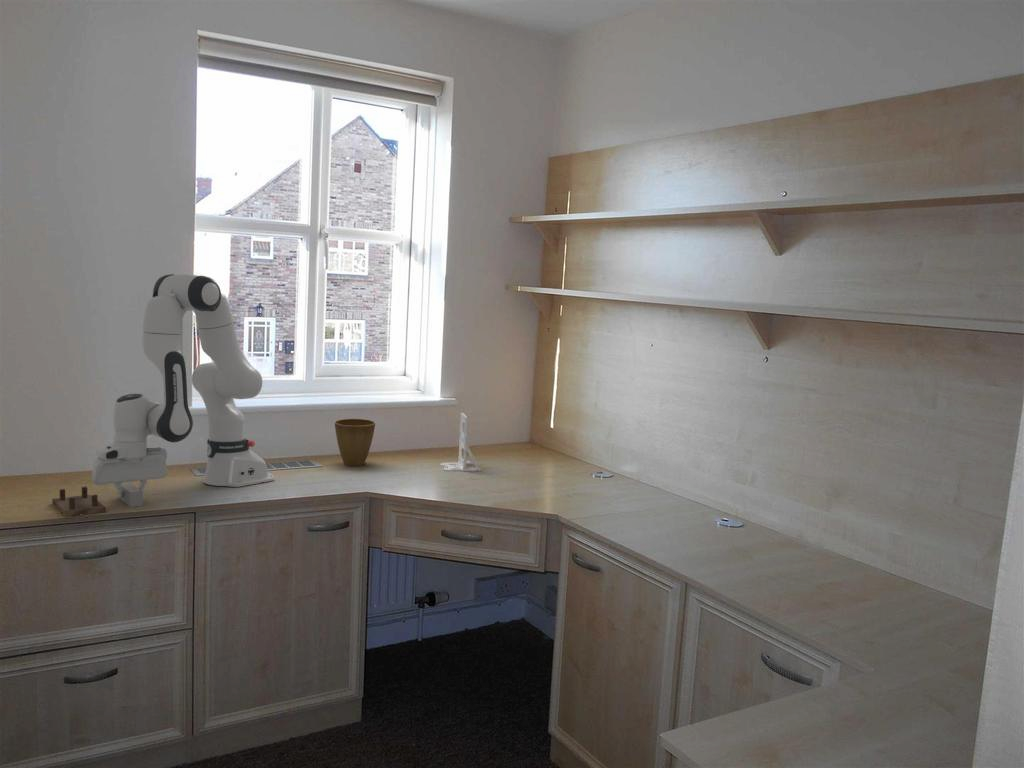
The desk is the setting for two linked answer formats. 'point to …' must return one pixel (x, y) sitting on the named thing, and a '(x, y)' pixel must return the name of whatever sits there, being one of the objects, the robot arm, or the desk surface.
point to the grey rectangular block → (132, 494)
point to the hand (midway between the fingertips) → (130, 495)
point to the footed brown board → (78, 503)
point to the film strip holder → (464, 445)
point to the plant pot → (354, 439)
